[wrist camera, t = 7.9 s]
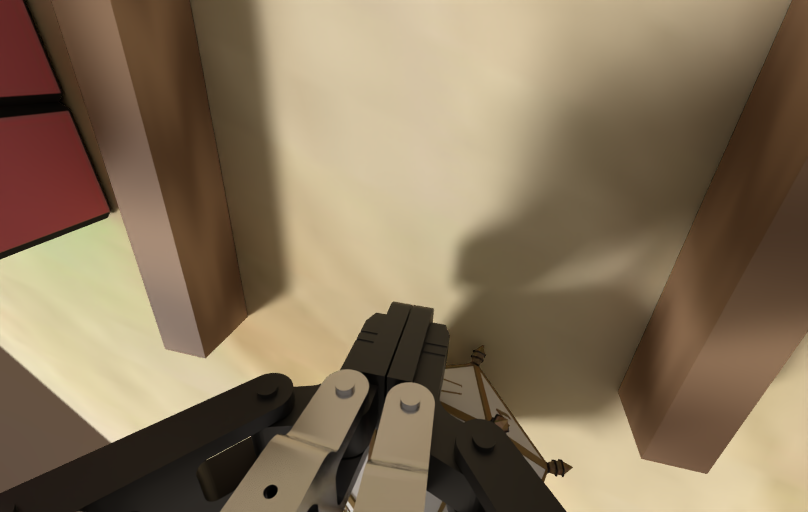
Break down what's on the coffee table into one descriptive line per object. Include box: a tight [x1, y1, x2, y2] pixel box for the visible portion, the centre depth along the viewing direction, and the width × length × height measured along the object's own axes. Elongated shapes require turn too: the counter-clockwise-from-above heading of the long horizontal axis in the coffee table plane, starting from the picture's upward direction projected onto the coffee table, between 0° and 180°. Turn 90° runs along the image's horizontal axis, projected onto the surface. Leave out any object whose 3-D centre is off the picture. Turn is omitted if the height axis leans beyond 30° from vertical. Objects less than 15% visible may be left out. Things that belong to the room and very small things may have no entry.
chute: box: [51, 0, 808, 474], centre depth 11 cm, size 18×21×3 cm
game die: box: [344, 345, 573, 512], centre depth 14 cm, size 9×8×10 cm
